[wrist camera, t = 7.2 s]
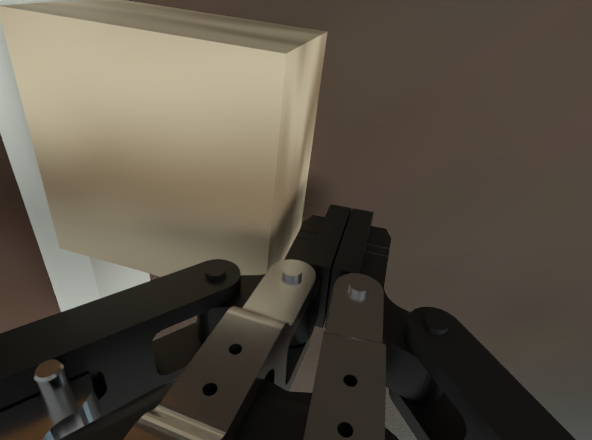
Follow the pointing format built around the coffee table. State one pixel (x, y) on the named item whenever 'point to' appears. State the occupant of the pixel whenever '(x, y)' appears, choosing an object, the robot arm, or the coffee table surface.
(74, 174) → the maple block
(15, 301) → the coffee table surface
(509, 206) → the coffee table surface
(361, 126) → the coffee table surface
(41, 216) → the board
